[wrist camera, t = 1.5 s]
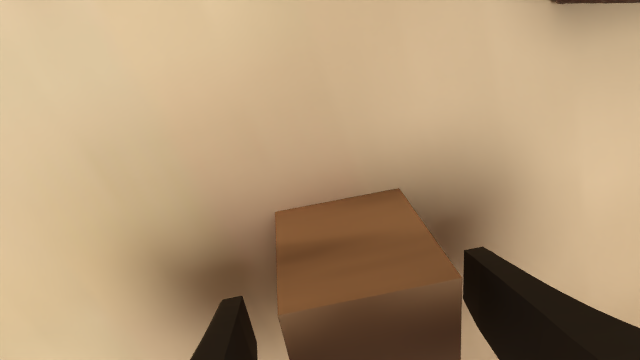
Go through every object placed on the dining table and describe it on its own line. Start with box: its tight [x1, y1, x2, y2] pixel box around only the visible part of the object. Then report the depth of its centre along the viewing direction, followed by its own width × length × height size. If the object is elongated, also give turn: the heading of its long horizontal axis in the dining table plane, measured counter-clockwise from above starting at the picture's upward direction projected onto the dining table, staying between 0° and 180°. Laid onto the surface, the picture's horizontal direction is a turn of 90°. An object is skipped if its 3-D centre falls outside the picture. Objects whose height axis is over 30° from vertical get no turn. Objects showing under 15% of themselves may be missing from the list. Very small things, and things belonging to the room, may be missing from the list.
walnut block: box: [275, 188, 462, 360], centre depth 12 cm, size 4×4×5 cm
